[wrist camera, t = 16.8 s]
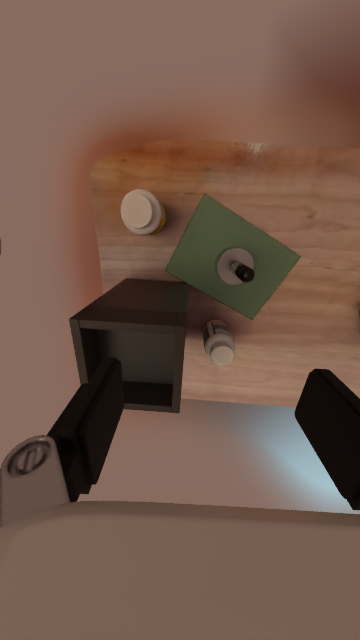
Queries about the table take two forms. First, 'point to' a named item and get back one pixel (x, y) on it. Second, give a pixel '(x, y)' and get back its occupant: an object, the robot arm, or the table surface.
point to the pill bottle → (218, 342)
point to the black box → (137, 340)
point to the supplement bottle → (142, 212)
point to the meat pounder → (235, 266)
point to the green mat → (214, 236)
